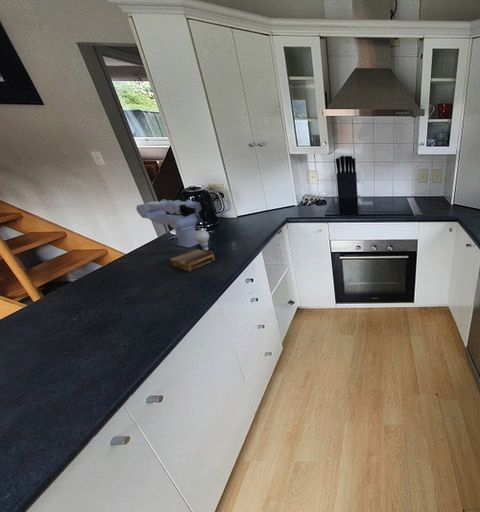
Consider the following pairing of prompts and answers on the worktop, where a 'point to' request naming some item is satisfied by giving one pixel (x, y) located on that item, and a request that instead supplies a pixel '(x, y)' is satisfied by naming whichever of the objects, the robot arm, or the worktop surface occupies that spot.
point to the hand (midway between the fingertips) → (203, 208)
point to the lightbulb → (202, 238)
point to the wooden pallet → (193, 259)
